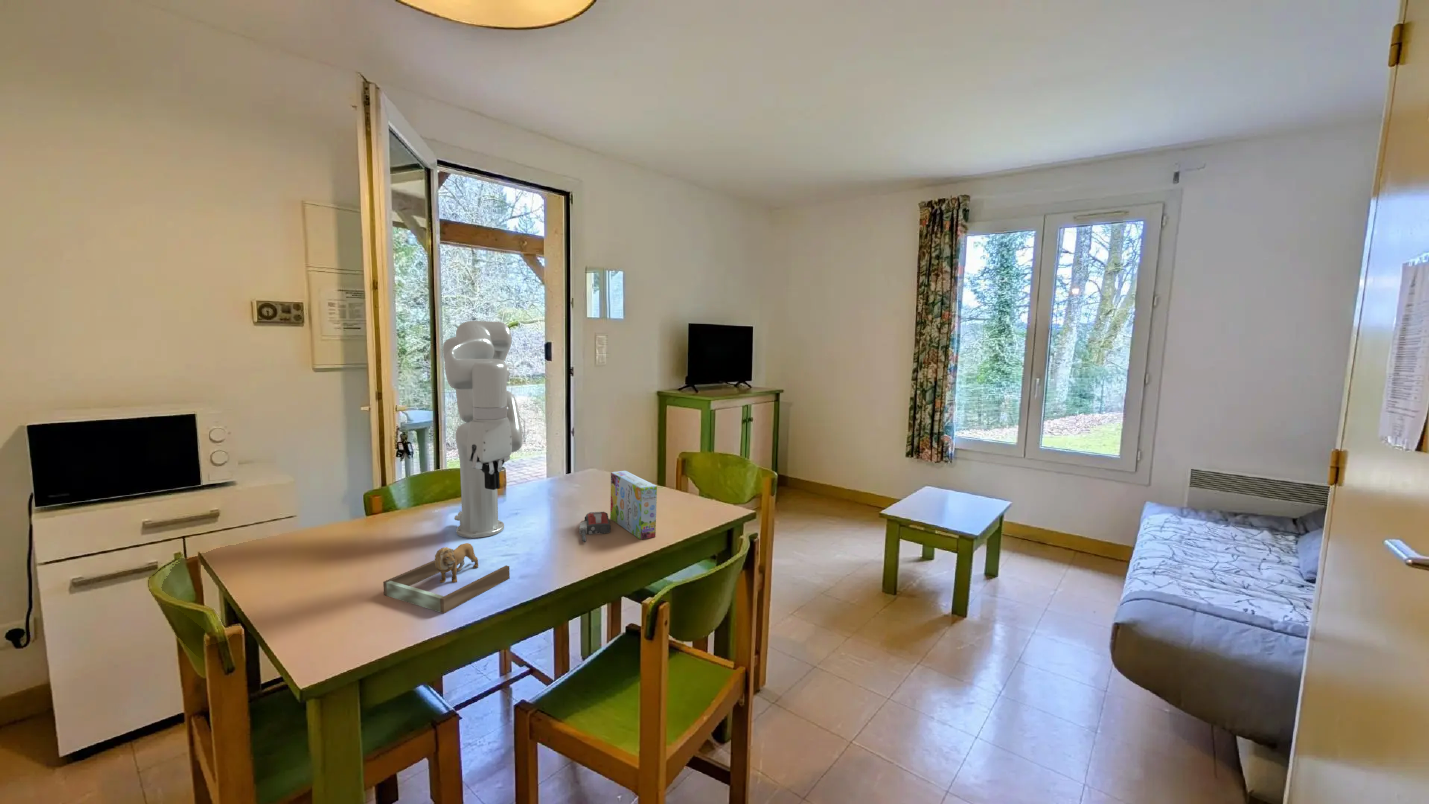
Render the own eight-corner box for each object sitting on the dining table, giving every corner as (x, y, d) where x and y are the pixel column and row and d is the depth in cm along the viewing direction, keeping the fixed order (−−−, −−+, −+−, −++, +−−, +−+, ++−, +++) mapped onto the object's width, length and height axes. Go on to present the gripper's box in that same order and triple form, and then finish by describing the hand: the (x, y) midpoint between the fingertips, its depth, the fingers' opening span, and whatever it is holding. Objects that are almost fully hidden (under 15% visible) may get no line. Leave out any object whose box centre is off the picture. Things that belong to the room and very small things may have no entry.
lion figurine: (452, 590, 122) (451, 551, 121) (429, 589, 122) (427, 550, 121) (483, 563, 137) (482, 528, 136) (462, 562, 137) (460, 527, 136)
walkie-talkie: (578, 521, 169) (580, 546, 150) (578, 507, 169) (579, 530, 149) (607, 519, 171) (612, 543, 152) (607, 505, 171) (612, 528, 152)
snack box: (657, 537, 157) (658, 485, 155) (639, 540, 154) (640, 488, 152) (625, 516, 174) (625, 469, 173) (608, 519, 171) (608, 471, 169)
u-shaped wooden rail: (383, 594, 119) (383, 581, 119) (453, 564, 136) (452, 552, 135) (444, 613, 112) (443, 599, 112) (509, 578, 129) (509, 566, 128)
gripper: (502, 408, 140) (503, 479, 142) (452, 416, 126) (455, 494, 129) (525, 411, 137) (526, 483, 139) (476, 419, 123) (479, 499, 126)
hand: (492, 488), depth 134 cm, fingers closed
